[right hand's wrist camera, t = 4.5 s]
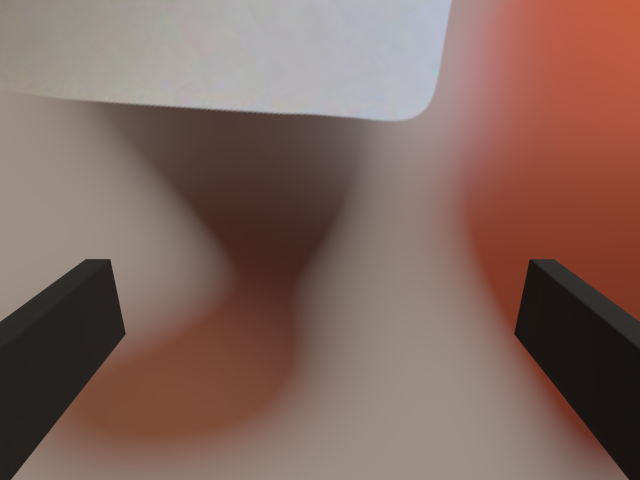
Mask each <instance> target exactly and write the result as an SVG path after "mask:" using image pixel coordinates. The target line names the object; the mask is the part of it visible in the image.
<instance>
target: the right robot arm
mask: <svg viewBox="0 0 640 480" xmlns="http://www.w3.org/2000/svg"><path fill="white" fill-rule="evenodd" d="M125 334H126V333H125V328H124V323H123V319H122V314H121V309H120V304H119V300H118V294H117V290H116V285H115V280H114V275H113V270H112V265H111V261H110V259H86V260H84V261H83V262H81V263H80V264H79V265H77V266H76V267H75V268H73V269H72V270H70V271H69V272H68V273H66V274H65V275H64V276H62V277H61V278H59V279H58V280H57V281H55V282H54V283H53V284H51V285H50V286H49V287H47V288H46V289H45V290H43V291H42V292H40V293H39V294H38V295H36V296H35V297H34V298H32V299H31V300H29V301H28V302H27V303H25V304H24V305H23V306H21V307H20V308H19V309H17V310H16V311H14V312H13V313H12V314H10V315H9V316H8V317H6V318H5V319H4V320H2V321H1V322H0V480H11V479H12V478H13V476H14V475H15V474H16V473H17V471H18V470H19V469H20V467H21V466H22V465H23V464H24V462H25V461H26V460H27V459H28V457H29V456H30V455H31V454H32V452H33V451H34V450H35V448H36V447H37V446H38V445H39V443H40V442H41V441H42V440H43V438H44V437H45V436H46V434H47V433H48V432H49V431H50V429H51V428H52V427H53V426H54V424H55V423H56V422H57V420H58V419H59V418H60V417H61V415H62V414H63V413H64V412H65V410H66V409H67V408H68V407H69V405H70V404H71V403H72V402H73V400H74V399H75V398H76V396H77V395H78V394H79V393H80V391H81V390H82V389H83V388H84V386H85V385H86V384H87V382H88V381H89V380H90V379H91V377H92V376H93V375H94V374H95V372H96V371H97V370H98V368H99V367H100V366H101V365H102V363H103V362H104V361H105V360H106V358H107V357H108V356H109V355H110V353H111V352H112V351H113V349H114V348H115V347H116V346H117V344H118V343H119V342H120V341H121V339H122V338H123V337H124V336H125ZM514 334H515V336H516V337H517V338H518V339H519V341H520V342H521V343H522V344H523V346H524V347H525V348H526V350H527V351H528V352H529V353H530V355H531V356H532V357H533V358H534V360H535V361H536V362H537V363H538V365H539V366H540V367H541V369H542V370H543V371H544V372H545V374H546V375H547V376H548V377H549V379H550V380H551V381H552V382H553V384H554V385H555V386H556V388H557V389H558V390H559V391H560V393H561V394H562V395H563V396H564V398H565V399H566V400H567V402H568V403H569V404H570V405H571V407H572V408H573V409H574V410H575V412H576V413H577V414H578V415H579V417H580V418H581V419H582V421H583V422H584V423H585V424H586V426H587V427H588V428H589V429H590V431H591V432H592V433H593V434H594V436H595V437H596V438H597V440H598V441H599V442H600V443H601V445H602V446H603V447H604V448H605V450H606V451H607V452H608V454H609V455H610V456H611V457H612V459H613V460H614V461H615V462H616V464H617V465H618V466H619V467H620V469H621V470H622V471H623V472H624V474H625V475H626V476H627V478H628V479H629V480H640V322H639V321H638V320H636V319H635V318H634V317H632V316H631V315H630V314H628V313H627V312H625V311H624V310H623V309H621V308H620V307H619V306H617V305H616V304H615V303H613V302H612V301H611V300H609V299H608V298H606V297H605V296H604V295H602V294H601V293H600V292H598V291H597V290H595V289H594V288H593V287H591V286H590V285H589V284H587V283H586V282H585V281H583V280H582V279H580V278H579V277H578V276H576V275H575V274H574V273H572V272H571V271H570V270H568V269H567V268H565V267H564V266H563V265H561V264H560V263H559V262H557V261H556V260H555V259H530V261H529V265H528V270H527V275H526V280H525V285H524V290H523V294H522V299H521V304H520V309H519V314H518V319H517V323H516V328H515V333H514Z"/></svg>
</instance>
